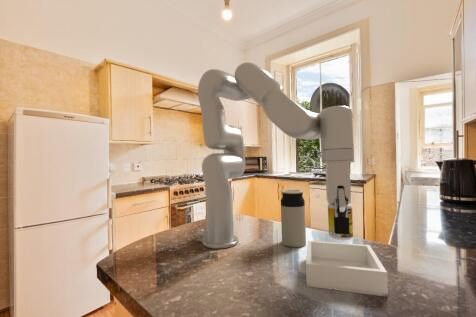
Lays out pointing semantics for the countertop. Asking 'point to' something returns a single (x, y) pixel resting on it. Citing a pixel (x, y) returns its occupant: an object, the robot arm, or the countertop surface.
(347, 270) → the bin
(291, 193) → the travel mug
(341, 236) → the supplement bottle
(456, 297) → the countertop surface
